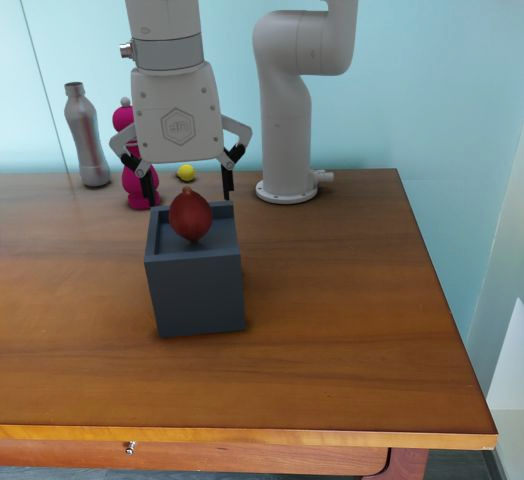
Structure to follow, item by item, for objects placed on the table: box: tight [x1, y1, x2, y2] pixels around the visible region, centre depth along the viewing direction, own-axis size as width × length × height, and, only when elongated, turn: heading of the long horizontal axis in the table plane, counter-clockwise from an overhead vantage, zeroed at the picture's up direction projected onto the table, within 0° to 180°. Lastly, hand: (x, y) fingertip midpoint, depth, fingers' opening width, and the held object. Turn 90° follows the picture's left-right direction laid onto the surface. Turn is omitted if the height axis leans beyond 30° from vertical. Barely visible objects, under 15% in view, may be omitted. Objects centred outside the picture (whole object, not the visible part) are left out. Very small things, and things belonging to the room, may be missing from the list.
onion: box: [169, 185, 212, 243], centre depth 70 cm, size 6×6×8 cm
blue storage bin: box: [143, 199, 247, 339], centre depth 75 cm, size 12×16×12 cm
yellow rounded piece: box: [174, 163, 196, 182], centre depth 115 cm, size 3×6×4 cm, turn 43°
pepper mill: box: [111, 96, 161, 210], centre depth 100 cm, size 7×7×20 cm
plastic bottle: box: [63, 81, 111, 187], centre depth 109 cm, size 6×7×20 cm
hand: (190, 199), depth 69 cm, fingers open, 9 cm apart
